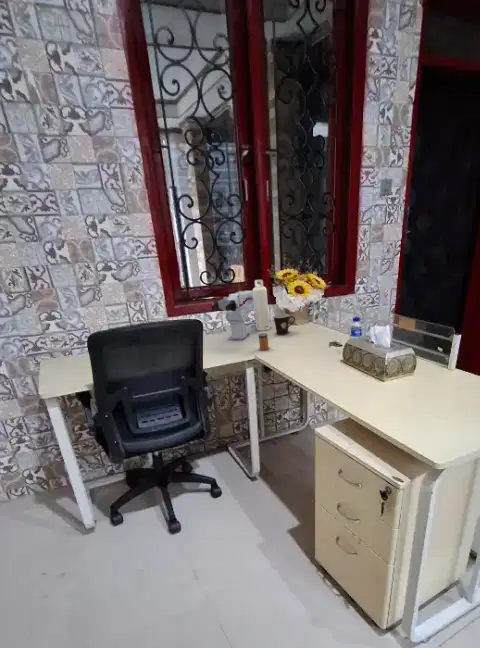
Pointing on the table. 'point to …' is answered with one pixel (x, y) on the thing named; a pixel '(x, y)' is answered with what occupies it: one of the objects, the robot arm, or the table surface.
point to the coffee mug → (282, 323)
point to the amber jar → (263, 341)
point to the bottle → (261, 306)
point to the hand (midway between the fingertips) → (219, 308)
